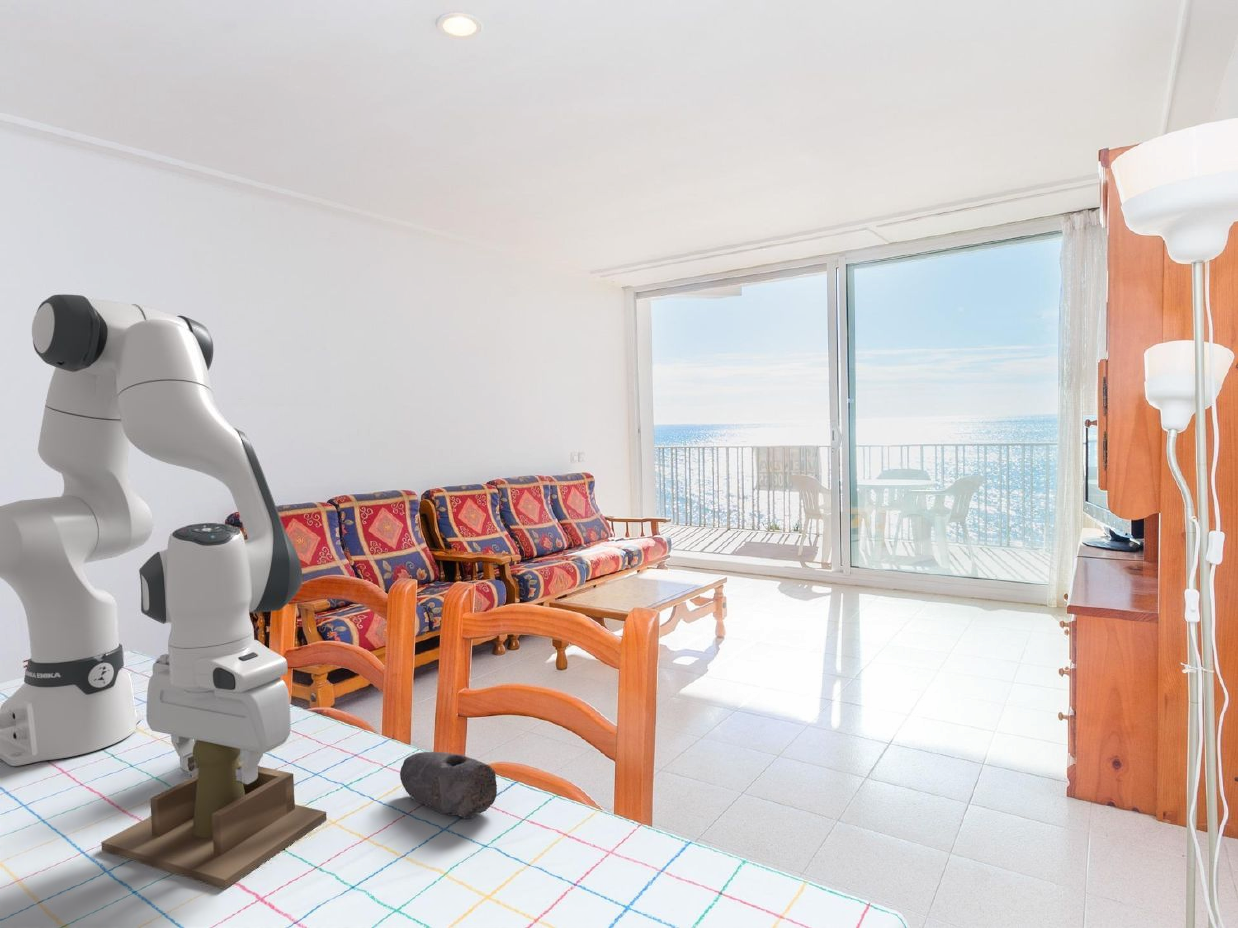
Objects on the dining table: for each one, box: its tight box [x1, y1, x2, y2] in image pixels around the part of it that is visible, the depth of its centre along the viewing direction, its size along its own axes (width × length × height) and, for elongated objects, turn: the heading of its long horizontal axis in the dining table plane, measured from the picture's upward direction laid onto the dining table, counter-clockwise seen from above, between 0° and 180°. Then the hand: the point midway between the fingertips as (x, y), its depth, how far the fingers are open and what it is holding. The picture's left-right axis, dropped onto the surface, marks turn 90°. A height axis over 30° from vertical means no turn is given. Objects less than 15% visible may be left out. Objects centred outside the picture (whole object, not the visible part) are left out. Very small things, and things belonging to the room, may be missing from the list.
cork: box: [193, 740, 245, 838], centre depth 84 cm, size 6×6×11 cm
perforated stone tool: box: [399, 751, 498, 820], centre depth 89 cm, size 15×5×7 cm, turn 57°
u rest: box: [100, 762, 327, 890], centre depth 84 cm, size 20×14×6 cm
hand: (218, 774), depth 84 cm, fingers open, 8 cm apart
